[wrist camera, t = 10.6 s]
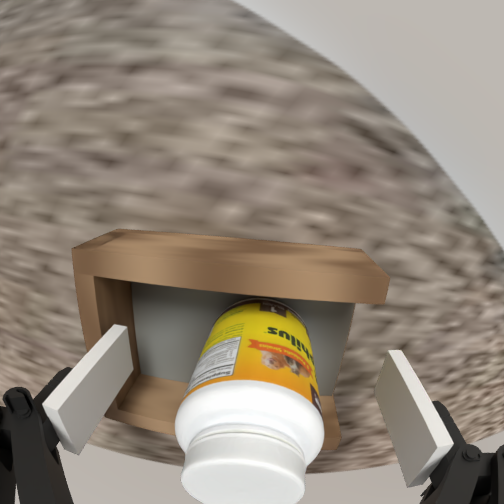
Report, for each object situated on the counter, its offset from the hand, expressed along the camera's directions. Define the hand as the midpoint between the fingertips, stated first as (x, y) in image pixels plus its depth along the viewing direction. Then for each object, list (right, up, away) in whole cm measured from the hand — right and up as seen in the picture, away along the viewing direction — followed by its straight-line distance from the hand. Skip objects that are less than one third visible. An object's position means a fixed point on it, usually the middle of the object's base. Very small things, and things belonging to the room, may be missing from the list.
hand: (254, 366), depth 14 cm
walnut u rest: (-2, +1, +4) cm, 4 cm away
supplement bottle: (0, +1, +3) cm, 3 cm away
